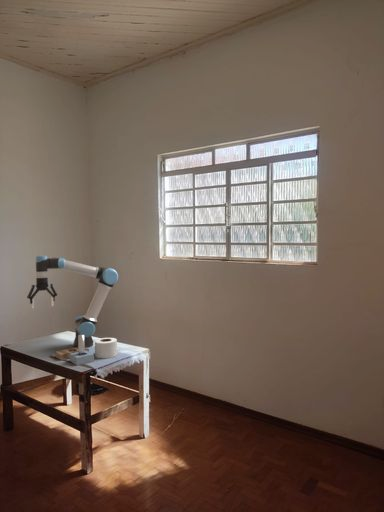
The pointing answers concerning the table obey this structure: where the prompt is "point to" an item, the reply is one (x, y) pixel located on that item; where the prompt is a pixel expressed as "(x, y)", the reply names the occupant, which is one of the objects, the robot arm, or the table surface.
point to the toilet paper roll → (105, 347)
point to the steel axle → (81, 344)
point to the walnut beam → (67, 353)
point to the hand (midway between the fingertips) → (42, 307)
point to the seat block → (81, 358)
